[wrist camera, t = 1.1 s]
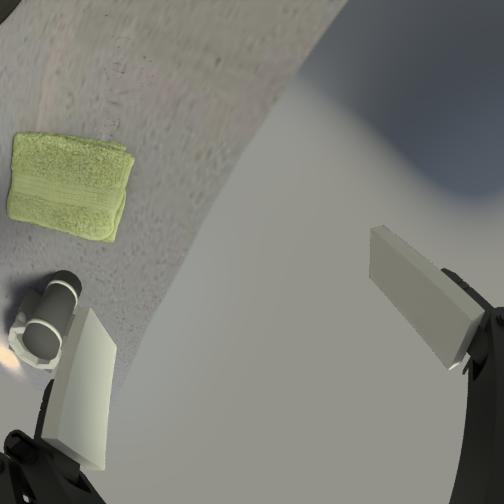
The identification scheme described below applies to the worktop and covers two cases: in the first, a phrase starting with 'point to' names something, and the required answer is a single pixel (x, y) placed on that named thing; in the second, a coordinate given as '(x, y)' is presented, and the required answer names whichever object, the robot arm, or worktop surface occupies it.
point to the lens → (52, 316)
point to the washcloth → (69, 184)
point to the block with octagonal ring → (18, 329)
